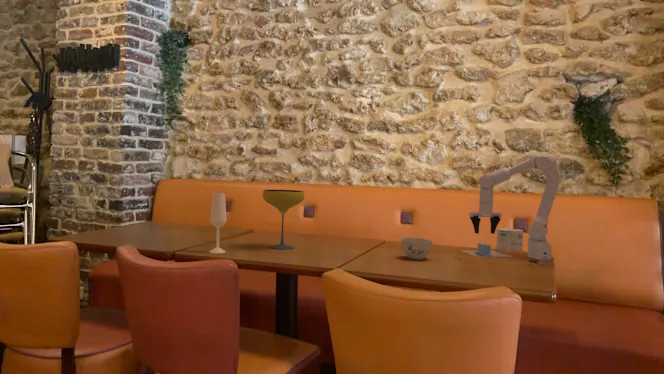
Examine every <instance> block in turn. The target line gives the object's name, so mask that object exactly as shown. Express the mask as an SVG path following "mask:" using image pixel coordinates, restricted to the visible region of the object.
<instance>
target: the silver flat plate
mask: <svg viewBox="0 0 664 374" xmlns="http://www.w3.org/2000/svg"><path fill="white" fill-rule="evenodd" d="M459 251H460V252H463V253H466V254H468V255H472V256H474V257H477V258H486V257H485V256H481V255H478V254H476V253H475V252H477V249H474V250H473V249H469V250H467V249H464V250H463V249H460V250H459ZM490 255H493V257H492V258H513V257H514V256H512V255H509V254H506V253H502V252H499V251H495V250H492V249H491V250H490Z"/></svg>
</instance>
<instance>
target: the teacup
mask: <svg viewBox="0 0 664 374" xmlns="http://www.w3.org/2000/svg"><path fill="white" fill-rule="evenodd" d="M401 246H402V249H403V252H404V253H405V255H406V256H407V257H408V259H411V260H420V261H421V260H423V259H424V258H426V257H427V255H428V254H429V253H430V252H431V250H432V246H433V240H432V239H429V238H428V239H427V238H422V237H409V236H408V237H407V236H406V237H402V238H401Z"/></svg>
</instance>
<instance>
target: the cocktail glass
mask: <svg viewBox="0 0 664 374" xmlns="http://www.w3.org/2000/svg"><path fill="white" fill-rule="evenodd" d="M262 199H263V200H264V201H265V202H266V203H268V204H269V205H271V206H273V207H274V208H275V209H277V211H279V213H280V214H281V219H282V220H281V238H280V243H279V244H275V245H269V248H270V249H271V250H293V249H295V246H293V245H288V244H285V241H284V220H285V219H284V218H285V217H284V215H285V214H286V213H287V211H289V210H290V209H292V208H293V207H295V206H297V205H299V204H301V203H302V202H303V201H304V199H305V191H303V190H295V189H291V190H290V189H264V190H263V191H262Z"/></svg>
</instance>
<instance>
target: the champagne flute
mask: <svg viewBox="0 0 664 374" xmlns="http://www.w3.org/2000/svg"><path fill="white" fill-rule="evenodd" d="M210 207H211V209H210V215H209V221H210V224H211V225H212V226H213V227H214V228H216V234H215V236H216V237H215V239H216V244H215V247H214V248H212V249H211V250H209V253H211V254H224V253H226V250H224V249H222V248H221V247H220V229H221V228H222V227H224V225H225V224H226V223H227V219H228V218H227V206H226V194H225V192H213V193H212V198H211V206H210Z"/></svg>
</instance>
